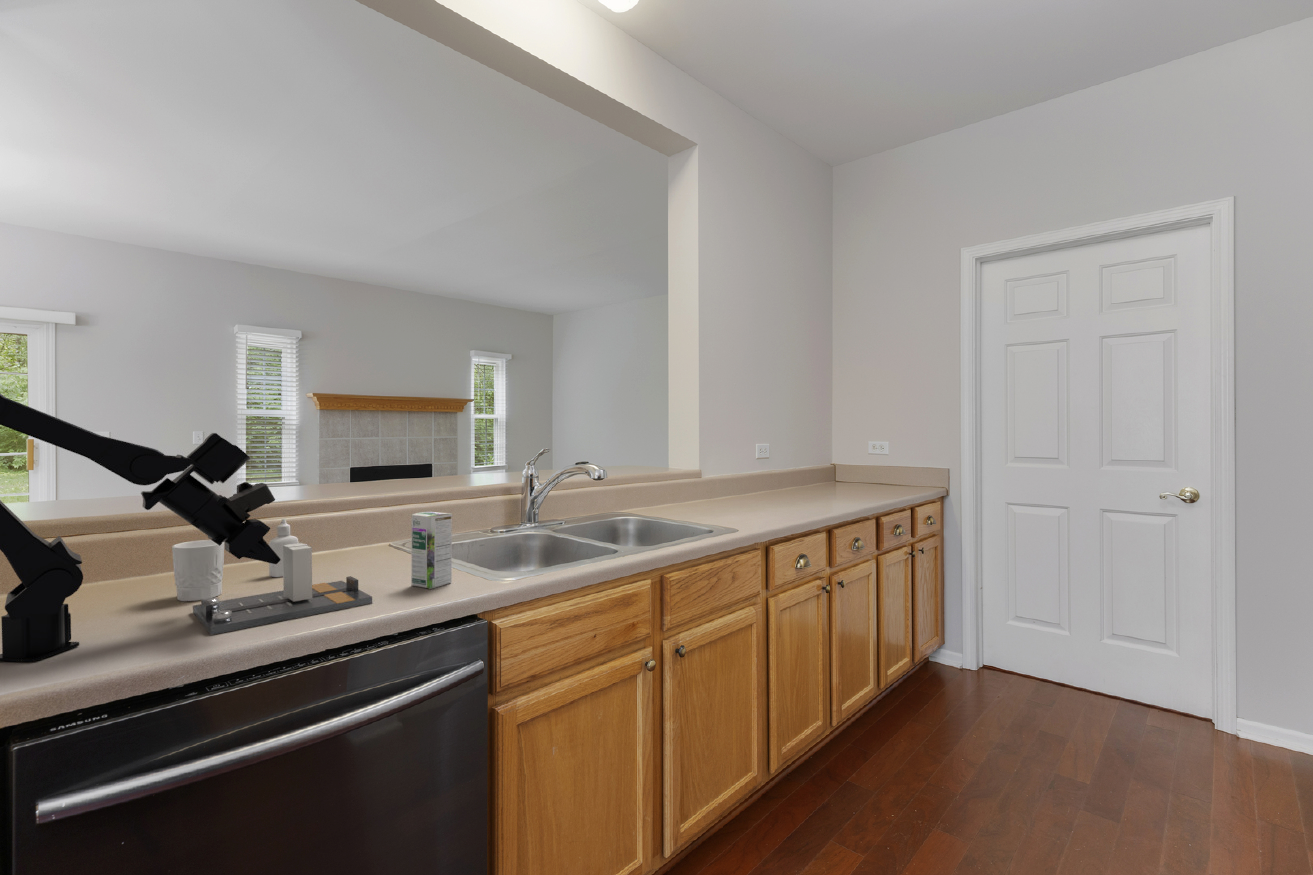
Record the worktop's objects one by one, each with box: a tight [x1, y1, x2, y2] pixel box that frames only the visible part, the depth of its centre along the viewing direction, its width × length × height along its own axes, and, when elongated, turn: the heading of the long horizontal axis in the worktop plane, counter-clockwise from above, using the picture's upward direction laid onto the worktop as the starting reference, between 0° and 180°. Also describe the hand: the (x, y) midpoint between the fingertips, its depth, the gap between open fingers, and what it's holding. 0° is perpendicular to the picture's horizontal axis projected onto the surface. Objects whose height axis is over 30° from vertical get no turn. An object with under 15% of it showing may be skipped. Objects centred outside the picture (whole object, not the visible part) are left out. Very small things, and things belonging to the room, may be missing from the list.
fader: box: [283, 542, 313, 602], centre depth 110 cm, size 3×6×9 cm, turn 45°
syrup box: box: [410, 511, 453, 590], centre depth 125 cm, size 6×6×14 cm
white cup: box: [171, 539, 225, 602], centre depth 116 cm, size 8×8×10 cm
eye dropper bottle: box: [268, 518, 300, 578], centre depth 133 cm, size 4×6×12 cm
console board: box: [192, 576, 373, 636], centre depth 109 cm, size 24×16×3 cm
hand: (278, 561), depth 108 cm, fingers closed
